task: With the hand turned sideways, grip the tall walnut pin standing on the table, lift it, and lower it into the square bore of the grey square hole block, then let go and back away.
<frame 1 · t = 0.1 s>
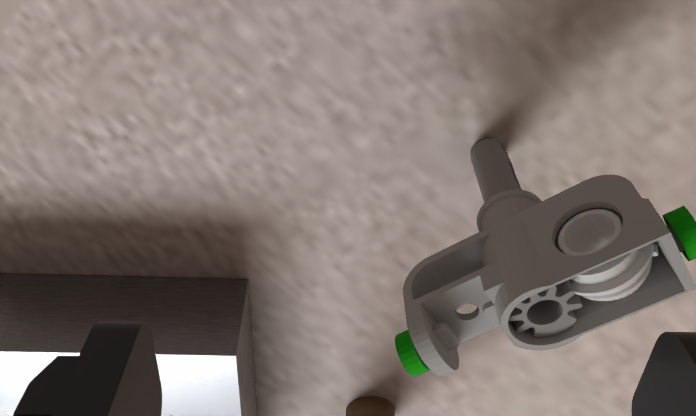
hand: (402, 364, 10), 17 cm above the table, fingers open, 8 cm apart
pin: (370, 411, 39), on the table
mechanical component: (487, 150, 28), on the table
grey square hole block: (131, 365, 36), on the table
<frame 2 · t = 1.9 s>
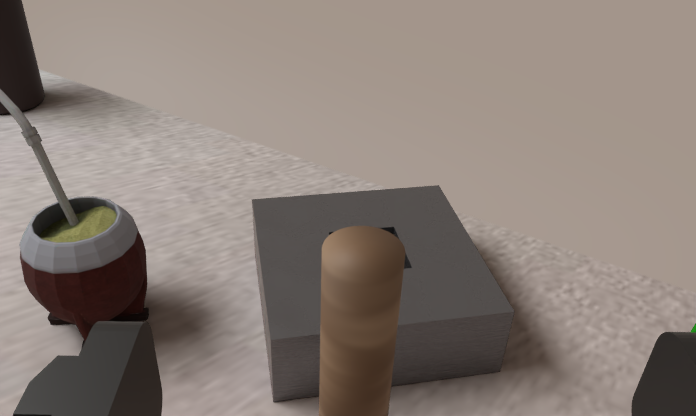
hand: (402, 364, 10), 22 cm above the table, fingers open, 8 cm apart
bottle: (12, 103, 69), on the table
mate gourd: (94, 318, 42), on the table
grey square hole block: (365, 307, 44), on the table
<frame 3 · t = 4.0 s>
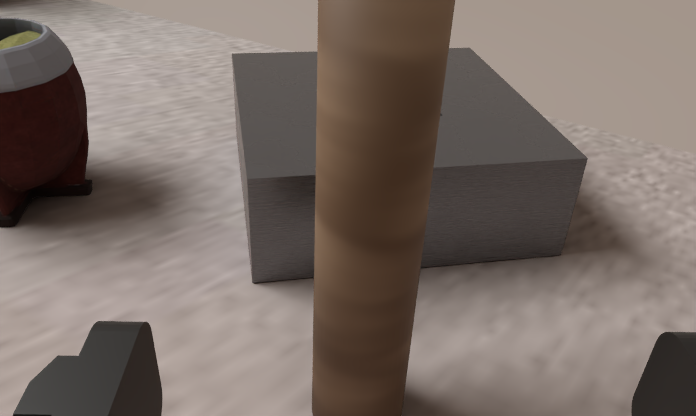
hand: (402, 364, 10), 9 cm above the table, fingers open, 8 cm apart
pin: (356, 407, 21), on the table
mate gourd: (20, 193, 32), on the table
grey square hole block: (377, 186, 33), on the table
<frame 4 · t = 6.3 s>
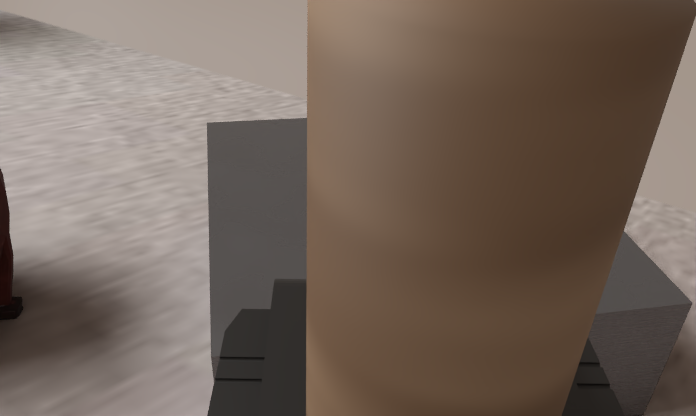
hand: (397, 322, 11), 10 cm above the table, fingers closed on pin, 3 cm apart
grey square hole block: (392, 298, 26), on the table
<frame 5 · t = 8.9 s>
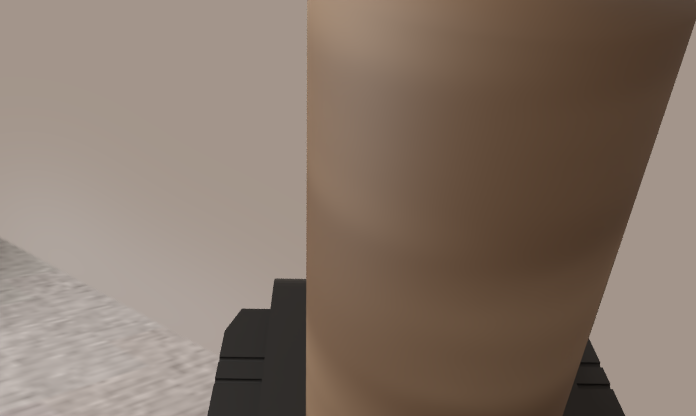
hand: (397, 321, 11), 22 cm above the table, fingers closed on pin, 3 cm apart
when the fingers open (11 cm above the table, at t = 11.3 s): pin drops 1 cm, resting in grey square hole block.
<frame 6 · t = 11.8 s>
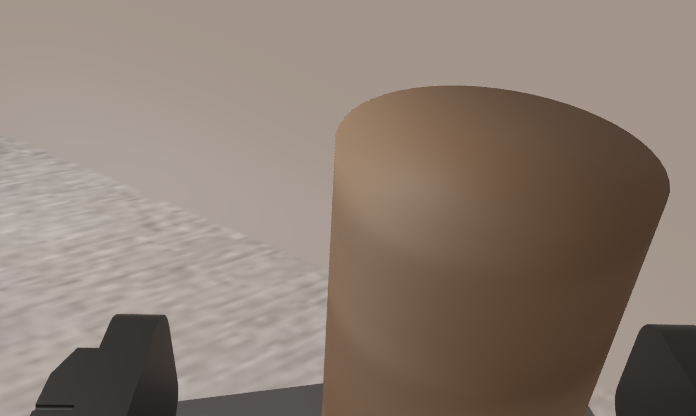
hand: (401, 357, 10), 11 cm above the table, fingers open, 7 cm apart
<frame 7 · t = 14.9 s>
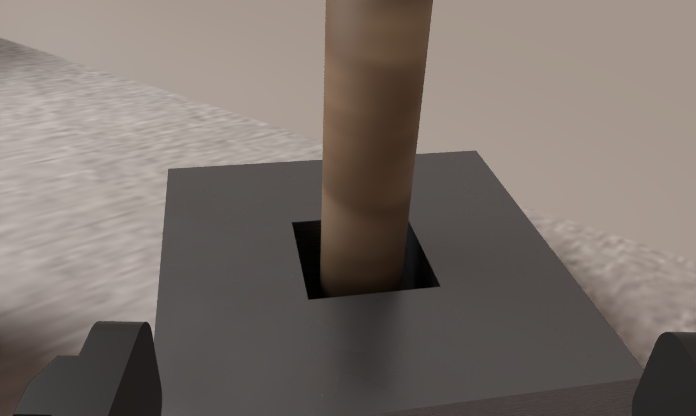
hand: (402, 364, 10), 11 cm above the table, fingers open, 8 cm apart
pin: (355, 353, 25), resting in grey square hole block
grey square hole block: (355, 351, 25), on the table
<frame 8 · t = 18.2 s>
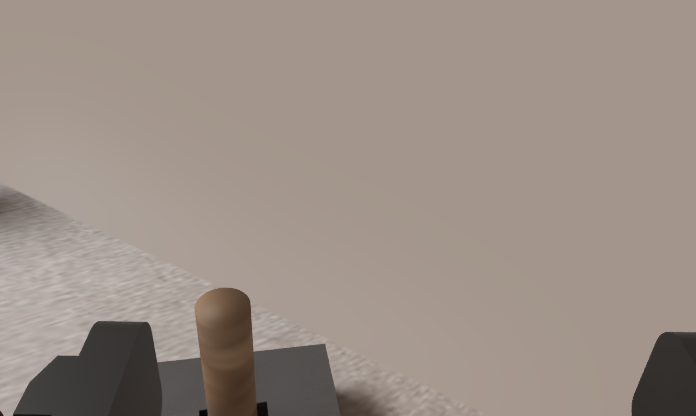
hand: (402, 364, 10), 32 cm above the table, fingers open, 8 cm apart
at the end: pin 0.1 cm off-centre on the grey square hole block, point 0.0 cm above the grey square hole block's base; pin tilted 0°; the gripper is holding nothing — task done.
